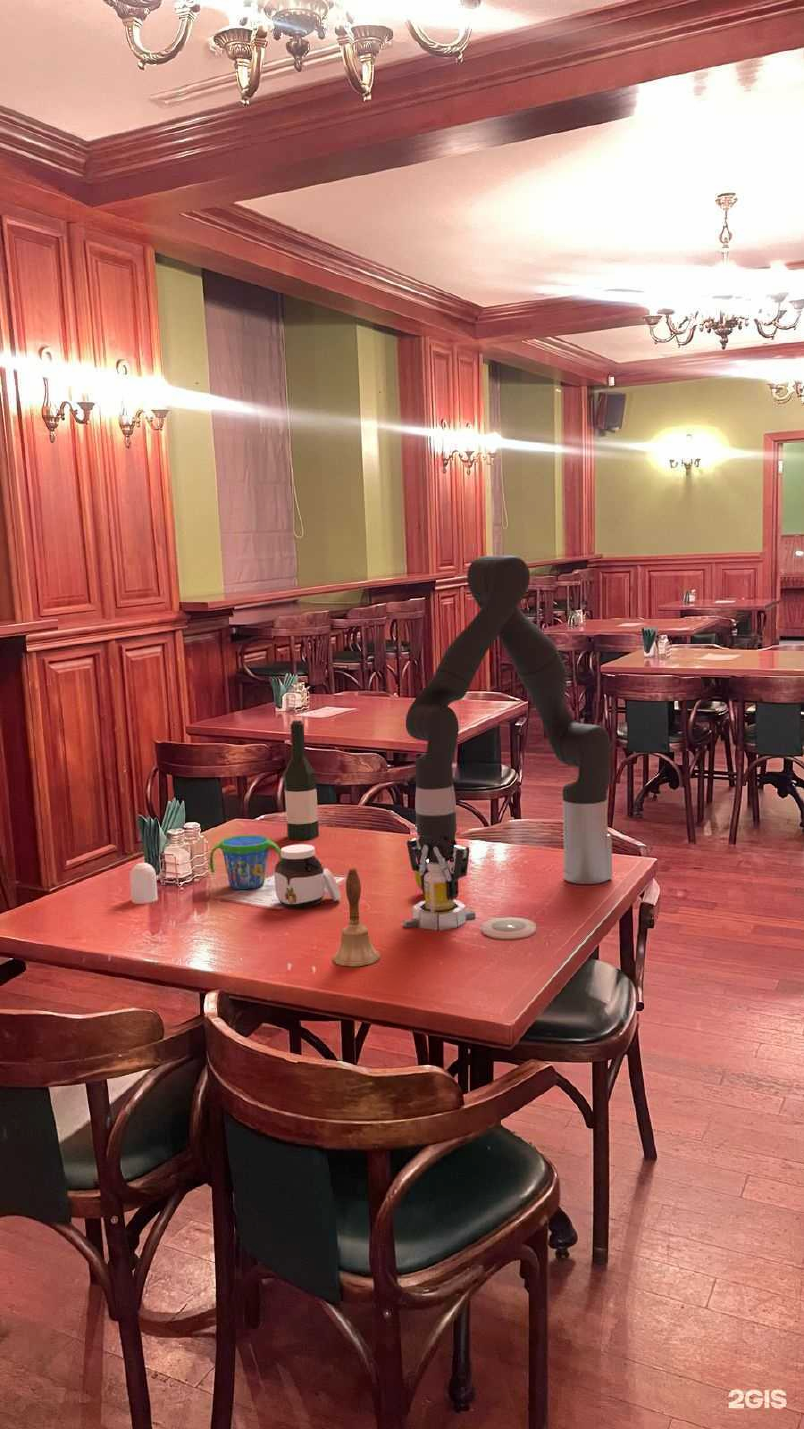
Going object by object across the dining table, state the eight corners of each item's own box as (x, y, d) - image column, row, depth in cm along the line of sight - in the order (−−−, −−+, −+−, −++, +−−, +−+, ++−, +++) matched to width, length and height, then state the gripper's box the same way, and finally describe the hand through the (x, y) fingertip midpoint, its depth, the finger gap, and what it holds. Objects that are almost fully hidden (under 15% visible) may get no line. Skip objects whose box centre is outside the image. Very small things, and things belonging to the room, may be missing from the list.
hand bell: (332, 952, 197) (327, 865, 195) (378, 949, 198) (374, 862, 196) (333, 968, 189) (328, 877, 187) (381, 965, 190) (377, 874, 188)
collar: (465, 910, 218) (464, 895, 218) (483, 923, 209) (482, 908, 209) (397, 919, 214) (396, 904, 214) (412, 934, 205) (411, 918, 205)
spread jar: (270, 904, 228) (267, 848, 226) (311, 891, 236) (308, 837, 234) (309, 914, 219) (306, 857, 218) (350, 900, 228) (348, 845, 226)
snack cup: (287, 878, 246) (284, 833, 245) (278, 892, 236) (275, 845, 235) (217, 879, 248) (214, 835, 246) (206, 893, 237) (203, 847, 236)
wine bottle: (283, 840, 281) (276, 723, 278) (291, 832, 290) (285, 718, 286) (315, 840, 280) (308, 722, 276) (322, 832, 288) (316, 718, 284)
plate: (522, 918, 211) (522, 914, 211) (544, 934, 202) (544, 929, 202) (473, 925, 208) (473, 921, 208) (493, 942, 199) (493, 937, 199)
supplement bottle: (459, 909, 212) (457, 860, 211) (444, 918, 208) (442, 867, 206) (435, 906, 215) (433, 857, 214) (420, 914, 211) (417, 863, 209)
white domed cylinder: (151, 904, 231) (148, 866, 230) (127, 903, 232) (124, 866, 231) (161, 896, 236) (159, 859, 235) (138, 896, 238) (135, 859, 236)
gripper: (478, 809, 207) (481, 897, 209) (420, 801, 216) (424, 885, 219) (452, 817, 201) (456, 907, 204) (394, 808, 211) (398, 894, 213)
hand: (439, 895), depth 211 cm, fingers closed on supplement bottle, 5 cm apart
